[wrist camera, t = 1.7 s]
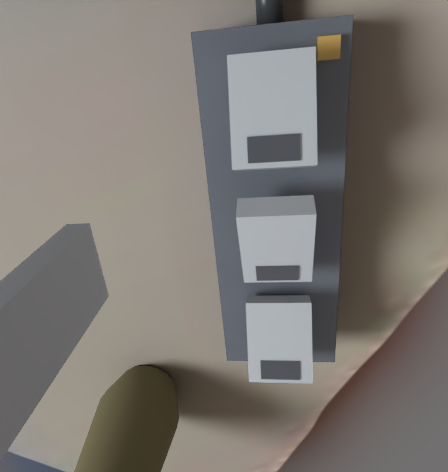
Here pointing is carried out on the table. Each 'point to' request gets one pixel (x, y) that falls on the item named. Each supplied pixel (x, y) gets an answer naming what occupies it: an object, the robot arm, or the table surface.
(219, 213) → the switch strip
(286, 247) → the block
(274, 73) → the plate
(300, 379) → the plate
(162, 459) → the squeeze bottle
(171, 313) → the table surface
